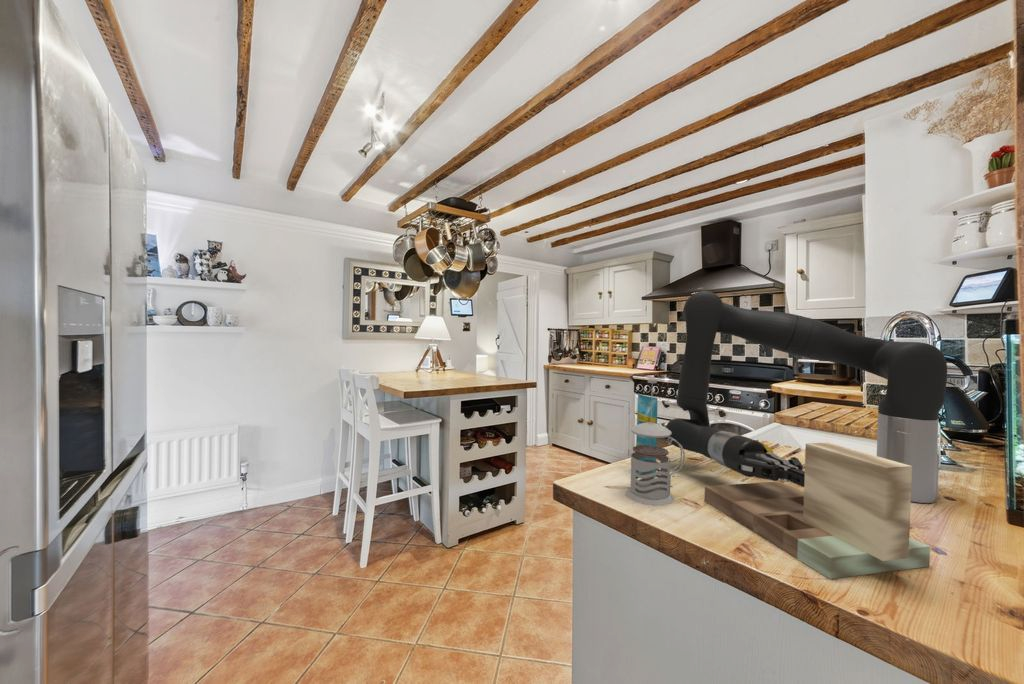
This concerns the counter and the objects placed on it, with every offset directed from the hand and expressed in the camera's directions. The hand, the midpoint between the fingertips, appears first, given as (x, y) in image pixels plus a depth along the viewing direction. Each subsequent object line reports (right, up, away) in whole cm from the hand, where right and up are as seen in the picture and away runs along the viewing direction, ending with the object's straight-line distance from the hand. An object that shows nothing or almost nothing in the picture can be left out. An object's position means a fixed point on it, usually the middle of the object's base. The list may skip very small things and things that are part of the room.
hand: (812, 482), depth 67 cm
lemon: (+10, -9, +29) cm, 32 cm away
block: (+1, -6, -6) cm, 9 cm away
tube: (-19, -8, +28) cm, 35 cm away
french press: (-22, -9, +16) cm, 28 cm away
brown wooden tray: (-1, -9, +2) cm, 9 cm away
